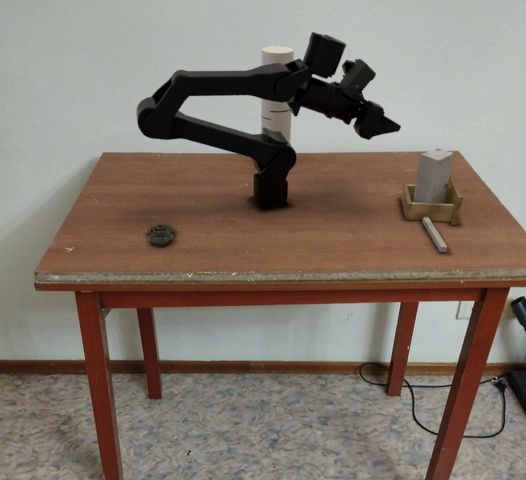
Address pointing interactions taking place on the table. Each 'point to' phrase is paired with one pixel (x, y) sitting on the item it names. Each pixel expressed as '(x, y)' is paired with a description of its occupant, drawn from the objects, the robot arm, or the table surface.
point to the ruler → (434, 234)
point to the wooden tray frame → (433, 204)
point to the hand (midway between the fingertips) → (391, 121)
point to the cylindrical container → (272, 112)
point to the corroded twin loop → (160, 234)
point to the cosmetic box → (433, 176)
